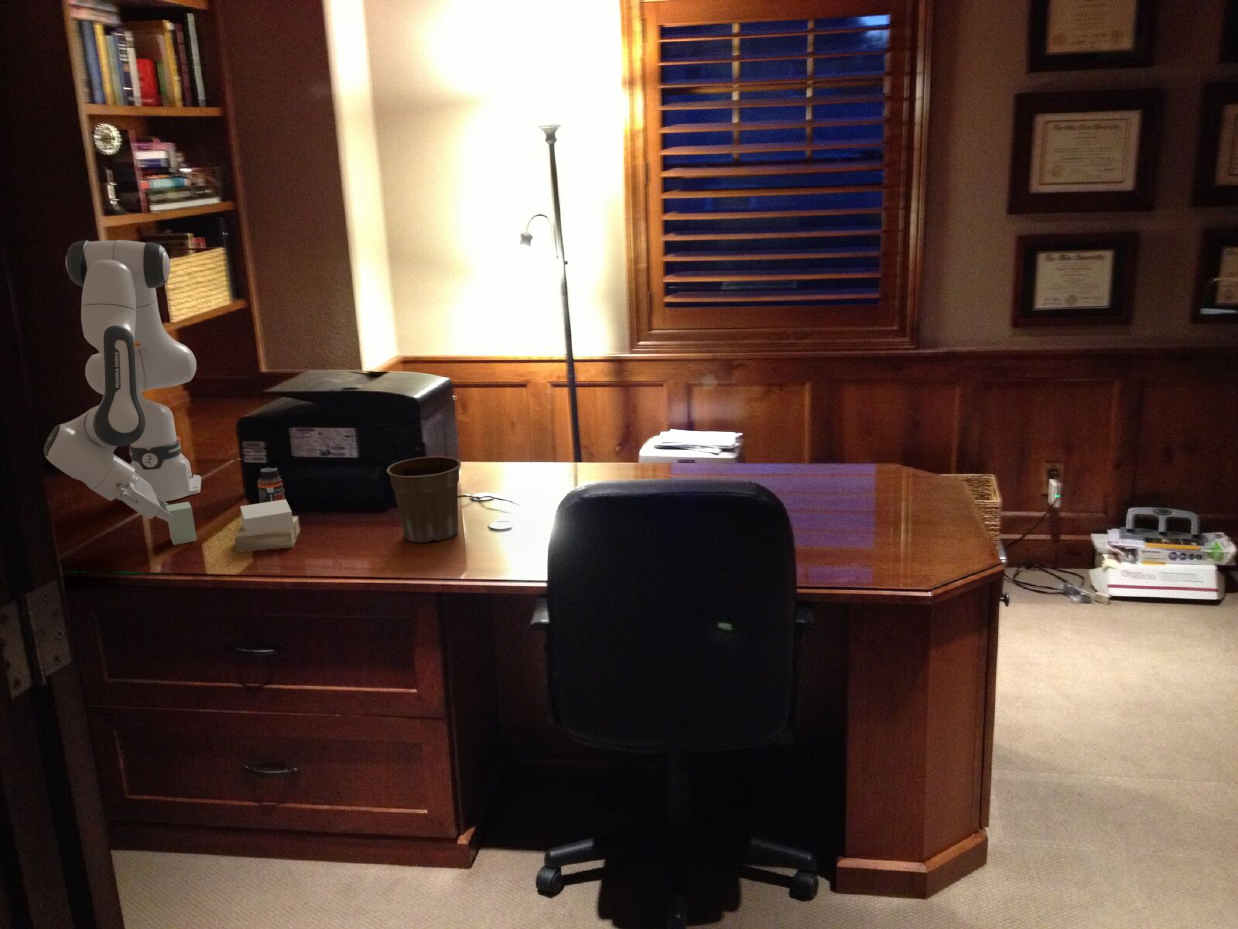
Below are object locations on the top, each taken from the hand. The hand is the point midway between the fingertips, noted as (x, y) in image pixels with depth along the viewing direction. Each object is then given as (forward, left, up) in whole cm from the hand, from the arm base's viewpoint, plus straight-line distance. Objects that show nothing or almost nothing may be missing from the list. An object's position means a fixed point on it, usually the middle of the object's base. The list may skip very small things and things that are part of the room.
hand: (169, 514), depth 250 cm
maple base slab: (+5, +22, -7) cm, 24 cm away
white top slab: (+5, +22, -3) cm, 23 cm away
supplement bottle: (-15, +20, -7) cm, 26 cm away
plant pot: (+10, +58, -7) cm, 59 cm away
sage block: (-1, +2, -7) cm, 7 cm away
